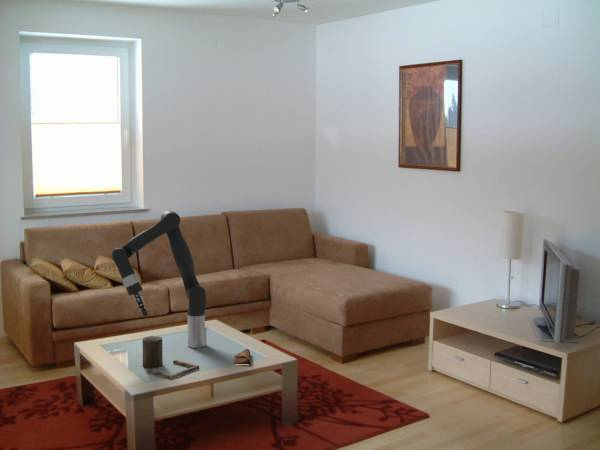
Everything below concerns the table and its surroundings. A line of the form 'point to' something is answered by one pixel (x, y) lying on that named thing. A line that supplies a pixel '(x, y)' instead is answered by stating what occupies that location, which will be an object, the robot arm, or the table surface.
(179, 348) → the table surface
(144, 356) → the pillar candle
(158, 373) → the wooden u-shaped frame
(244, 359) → the sunglasses case
